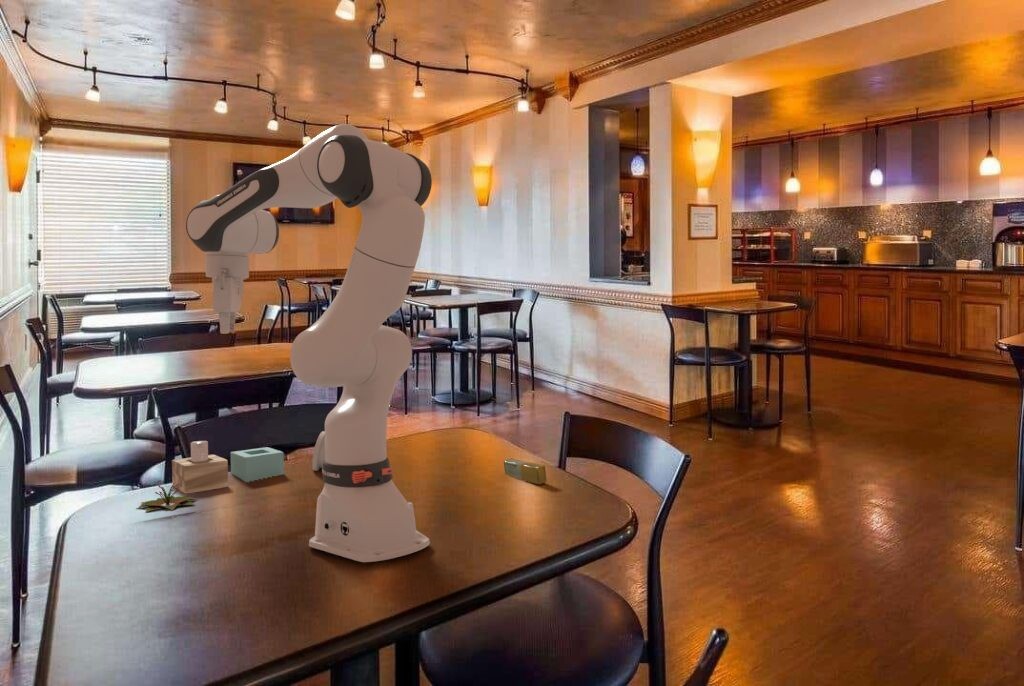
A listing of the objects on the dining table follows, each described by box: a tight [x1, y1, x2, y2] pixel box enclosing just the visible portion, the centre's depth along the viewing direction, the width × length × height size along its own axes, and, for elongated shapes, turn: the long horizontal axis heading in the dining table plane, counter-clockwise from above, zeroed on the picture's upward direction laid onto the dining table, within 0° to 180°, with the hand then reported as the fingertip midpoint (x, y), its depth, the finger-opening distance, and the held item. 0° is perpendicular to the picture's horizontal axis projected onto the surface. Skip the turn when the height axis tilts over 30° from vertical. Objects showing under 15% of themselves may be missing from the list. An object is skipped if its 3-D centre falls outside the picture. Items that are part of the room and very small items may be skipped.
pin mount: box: [171, 454, 229, 495], centre depth 155 cm, size 9×9×6 cm
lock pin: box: [190, 440, 209, 463], centre depth 155 cm, size 4×4×9 cm
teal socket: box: [230, 446, 285, 483], centre depth 164 cm, size 9×9×6 cm
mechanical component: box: [311, 430, 325, 472], centre depth 169 cm, size 10×4×10 cm, turn 179°
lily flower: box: [135, 482, 197, 513], centre depth 140 cm, size 12×12×5 cm
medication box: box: [503, 458, 548, 485], centre depth 160 cm, size 12×3×4 cm, turn 40°
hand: (227, 332), depth 153 cm, fingers open, 8 cm apart
